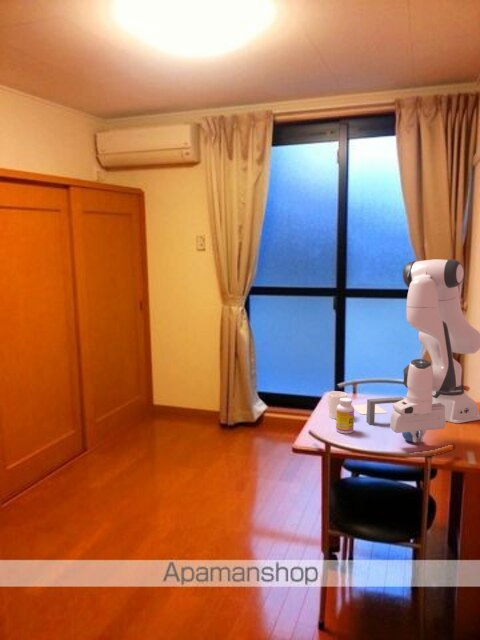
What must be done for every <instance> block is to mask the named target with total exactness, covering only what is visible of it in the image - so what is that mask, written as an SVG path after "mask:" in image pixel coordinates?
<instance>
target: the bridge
mask: <svg viewBox="0 0 480 640" xmlns="http://www.w3.org/2000/svg"><path fill="white" fill-rule="evenodd" d="M403 399H405V398H404V397H403V396H398V397H397V396H395V397H382V398H379V397H378V398H368V399H367V400H366V404H367V414H366V423H367V424H368V425H375V415H376V414H375V404H376V405H382V404H394V403H396V402H398V401H401V400H403Z"/></svg>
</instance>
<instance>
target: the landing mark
mask: <svg viewBox="0 0 480 640" xmlns="http://www.w3.org/2000/svg"><path fill="white" fill-rule="evenodd" d="M351 405H352V404H351ZM352 406H353V407H354V411H356V412H357V413H358V414H360V416H361V415H364V416H365V415H367V403H364V404H353V405H352ZM378 414H388V412H387V411H386V410H385V409H383V408H382V407H380V406H379V404H375V415H378Z"/></svg>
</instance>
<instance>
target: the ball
mask: <svg viewBox="0 0 480 640" xmlns="http://www.w3.org/2000/svg"><path fill="white" fill-rule="evenodd" d="M419 433H420V431H417V433H416V434H415V435H416V436H418V435H419ZM401 435H402V437H403V439H404V440H405V441H407V442H413V436H412V435H411V433H410V432H403V433H402V434H401Z"/></svg>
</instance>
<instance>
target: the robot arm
mask: <svg viewBox="0 0 480 640" xmlns="http://www.w3.org/2000/svg"><path fill="white" fill-rule="evenodd" d="M463 279H464V267H463V265H462V263H461V262H460V261H459V260H457V259H451V258H450V259H449V258H448V259H440V258H439V259H438V258H437V259H435V258H432V259H425V260H413V261H409V262H407V263H406V265H405V266H404V267H403V271H402V280H403V283H404V284H405V286H406V287H407V288H408V292H407V296H406V309H405V310H406V311H405V313H406V320H407V323H408V324H409V325H410V326H411V327H412V328H413V329H415V330H417V331H418V340H419V342H420V345H422V346H423V347H424V348H425V349H426V351H427V353H428V355H429V356H430V359H431V361H429V360H427V359H423V358H417V359H412V360H411V361H410V362H409V364H408V365H407V366H405V367H404V368H403V381H402V384H403V385H404V386H405V388H407V392H406V397H405V398H404V399H403V400H401V401H398V402H396V403H392V408H393V409H394V410H393V411H392V413H391V415H390V425H389V426H390V429H391V430H392V432H394V433H396V434H401V433H403V432H410V433H411V435H412V436H413V441H412V442H413V443H422V442H423V438H424V436H425V435H426V433H427V431H431V430H433V431H434V430H443V429H444V428H446V425H447V423H446V422H449V423H454V424H461V423H462V424H463V423H466V422H472V421H478V420H480V412H479V409H478V408H479V407H478V404H477V402H476V401H475V400H474V399H473V398H472V397H470V396H469V395H468V394H467V393H465V391H466V392H469V390H470V389H471V388H470V386H468V385H464V384H462V372H463V368H462V365H461V363H459V362H458V361H457V360H456V359H455V358H454V357H453V353H454V354H462V355H463V354H465V355H467V354H468V355H470V354H475V353H477V352H478V351H480V331H479V330H477V329H476V328H474V327H473V326H472V324H471V323H470V322H469V321H468V320H467V319H466V317H465V315H464V313H463V311H462V307H461V301H460V294H459V293H460V291H459V285H460V284H462V282H463ZM417 431H419V435H418V436H416V435H415V434H416V433H417Z"/></svg>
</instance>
